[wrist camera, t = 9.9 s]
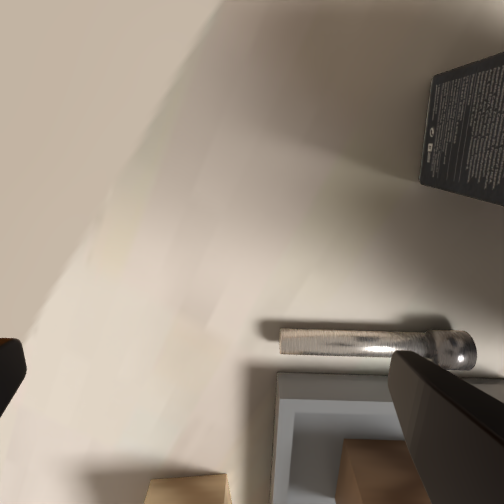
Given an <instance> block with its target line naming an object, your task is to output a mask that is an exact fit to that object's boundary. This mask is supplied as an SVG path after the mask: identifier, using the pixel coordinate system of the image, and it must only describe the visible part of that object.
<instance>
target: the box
mask: <svg viewBox="0 0 504 504" xmlns="http://www.w3.org/2000/svg"><path fill="white" fill-rule="evenodd" d="M419 181H420V183H421V184H422V185H426V186H430V187H434V188H438V189H442V190H445V191H449V192H453V193H457V194H461V195H464V196H468V197H472V198H475V199H479V200H483V201H487V202H490V203H494V204H498V205H502V206H504V52H502V53H499V54H497V55H494V56H490V57H488V58H485V59H482V60H479V61H476V62H473V63H470V64H467V65H464V66H461V67H458V68H455V69H452V70H450V71H446V72H444V73H441V74H437V75H436V76H434V77H433V78H432V80H431V88H430V97H429V102H428V111H427V118H426V128H425V135H424V143H423V152H422V160H421V169H420V175H419Z"/></svg>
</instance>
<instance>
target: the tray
mask: <svg viewBox="0 0 504 504" xmlns="http://www.w3.org/2000/svg"><path fill="white" fill-rule="evenodd" d="M461 379H463V380H464V381H466V382H468V383H470V384H471V385H473V386H475V387H477V388H478V389H480V390H482V391H484V392H485V393H487V394H489V395H491V396H492V397H494V398H496V399H498V400H499V401H501V402H503V403H504V379H481V378H461ZM344 439H371V440H402V441H405V439H404V436H403V432H402V429H401V426H400V423H399V420H398V417H397V414H396V411H395V408H394V404H393V401H392V398H391V395H390V392H389V389H388V376H380V375H347V374H314V373H280V372H277V384H276V400H275V417H274V433H273V449H272V465H271V482H270V498H269V504H336V502H335V494H336V487H337V481H338V474H339V467H340V461H341V454H342V448H343V441H344Z"/></svg>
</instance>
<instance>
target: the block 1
mask: <svg viewBox="0 0 504 504" xmlns="http://www.w3.org/2000/svg"><path fill="white" fill-rule="evenodd" d="M144 504H232V501H231V495H230V490H229V484H228V479H227V474H218V475H205V476H192V477H178V478H165V479H152V480H151V482H150V485H149V488H148V491H147V495H146V498H145V501H144Z"/></svg>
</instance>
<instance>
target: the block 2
mask: <svg viewBox="0 0 504 504" xmlns="http://www.w3.org/2000/svg"><path fill="white" fill-rule="evenodd" d="M335 502H336V504H431V501H430V499H429V497H428V495H427V492H426V490H425V488H424V485H423V483H422V481H421V479H420V476H419V474H418V472H417V469H416V467H415V465H414V463H413V460H412V458H411V455H410V453H409V450H408V447H407V445H406V442H405V441H402V440H371V439H344V441H343V448H342V454H341V461H340V467H339V474H338V481H337V487H336V494H335Z"/></svg>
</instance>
